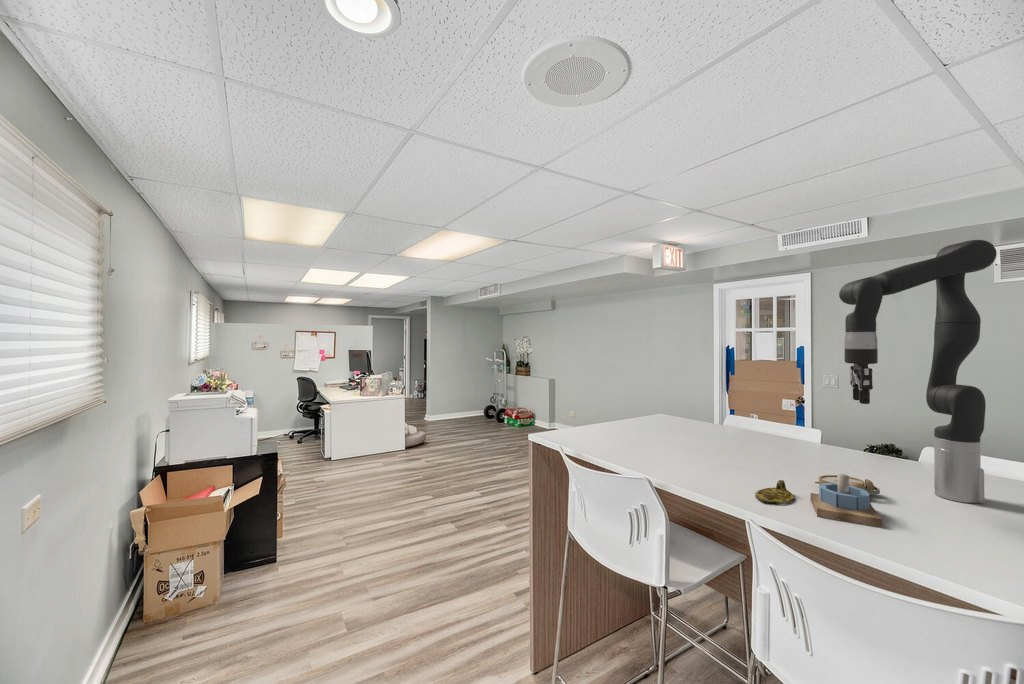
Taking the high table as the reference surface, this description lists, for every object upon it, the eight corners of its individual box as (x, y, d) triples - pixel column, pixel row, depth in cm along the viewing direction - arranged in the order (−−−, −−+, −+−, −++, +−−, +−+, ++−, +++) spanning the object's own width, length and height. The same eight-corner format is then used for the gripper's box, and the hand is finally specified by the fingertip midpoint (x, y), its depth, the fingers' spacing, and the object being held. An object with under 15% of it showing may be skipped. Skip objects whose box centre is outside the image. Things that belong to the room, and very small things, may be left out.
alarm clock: (829, 473, 135) (885, 478, 122) (832, 488, 134) (889, 495, 121) (809, 478, 130) (866, 484, 117) (813, 494, 129) (870, 502, 116)
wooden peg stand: (868, 508, 113) (868, 472, 113) (881, 527, 102) (881, 486, 102) (810, 499, 120) (810, 465, 120) (817, 516, 108) (816, 478, 108)
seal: (784, 514, 113) (800, 499, 123) (786, 497, 113) (802, 484, 123) (747, 500, 120) (765, 487, 130) (749, 485, 120) (767, 473, 130)
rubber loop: (863, 499, 114) (863, 487, 114) (873, 513, 105) (873, 499, 105) (817, 492, 120) (817, 480, 120) (822, 505, 111) (822, 492, 111)
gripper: (884, 347, 114) (884, 406, 114) (870, 347, 126) (871, 399, 126) (849, 347, 118) (850, 404, 118) (840, 347, 130) (840, 398, 130)
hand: (860, 401), depth 122 cm, fingers open, 8 cm apart
